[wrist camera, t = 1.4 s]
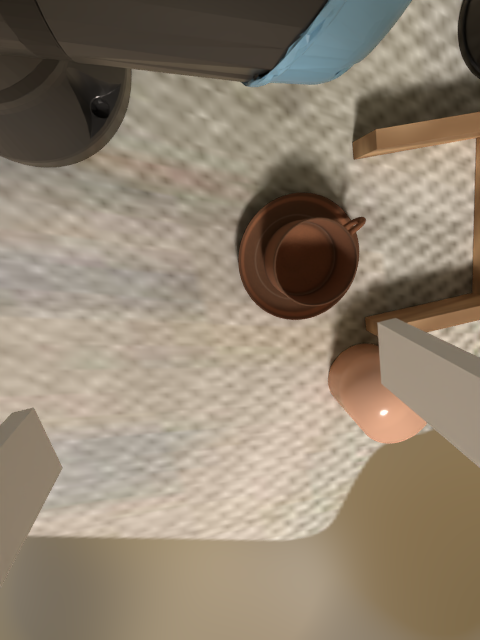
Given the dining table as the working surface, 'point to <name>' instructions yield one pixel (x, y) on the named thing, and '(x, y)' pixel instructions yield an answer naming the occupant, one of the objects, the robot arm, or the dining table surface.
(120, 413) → the dining table surface
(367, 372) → the peach rounded capsule
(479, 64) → the french press
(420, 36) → the dining table surface
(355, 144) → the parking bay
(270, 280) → the cup and saucer
